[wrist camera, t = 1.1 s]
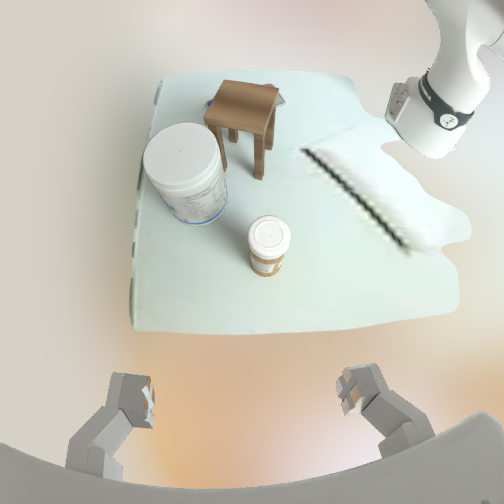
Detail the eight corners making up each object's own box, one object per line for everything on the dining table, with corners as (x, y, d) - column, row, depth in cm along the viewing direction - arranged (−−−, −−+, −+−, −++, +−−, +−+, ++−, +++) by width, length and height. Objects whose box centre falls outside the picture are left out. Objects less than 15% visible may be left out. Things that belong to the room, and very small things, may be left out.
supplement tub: (161, 199, 45) (127, 151, 31) (205, 165, 47) (188, 108, 32) (194, 240, 43) (166, 201, 29) (241, 203, 45) (234, 151, 30)
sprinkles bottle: (287, 263, 42) (300, 235, 29) (264, 283, 41) (268, 264, 28) (266, 241, 43) (270, 205, 30) (243, 261, 42) (238, 233, 29)
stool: (231, 135, 48) (224, 79, 35) (274, 144, 47) (278, 88, 34) (216, 170, 46) (203, 117, 33) (262, 181, 46) (264, 127, 32)
